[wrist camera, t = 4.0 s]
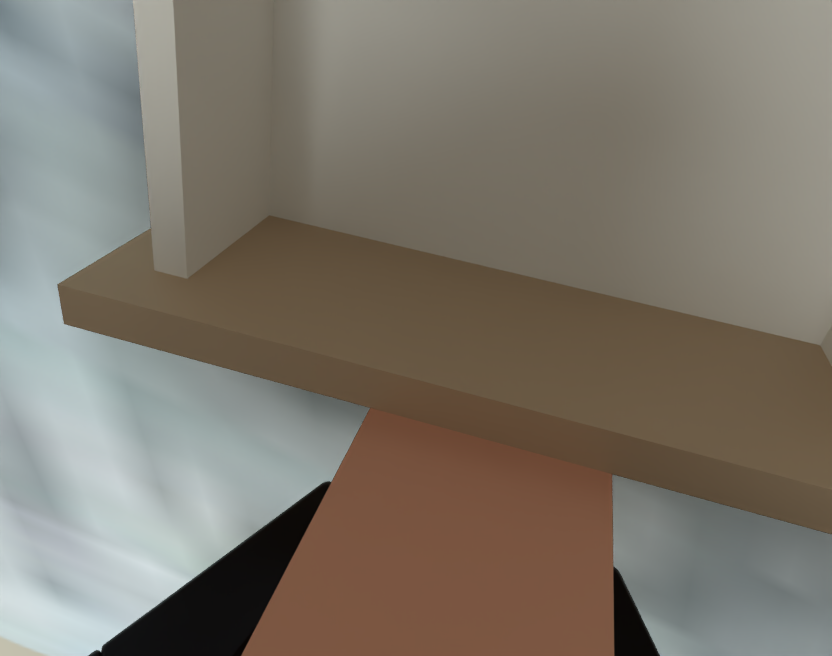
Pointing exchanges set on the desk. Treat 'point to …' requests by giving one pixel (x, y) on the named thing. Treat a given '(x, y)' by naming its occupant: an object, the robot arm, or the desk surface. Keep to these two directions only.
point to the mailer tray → (493, 283)
